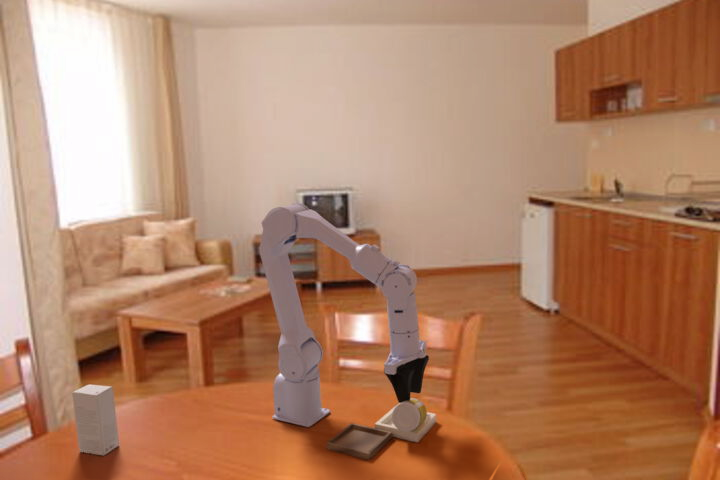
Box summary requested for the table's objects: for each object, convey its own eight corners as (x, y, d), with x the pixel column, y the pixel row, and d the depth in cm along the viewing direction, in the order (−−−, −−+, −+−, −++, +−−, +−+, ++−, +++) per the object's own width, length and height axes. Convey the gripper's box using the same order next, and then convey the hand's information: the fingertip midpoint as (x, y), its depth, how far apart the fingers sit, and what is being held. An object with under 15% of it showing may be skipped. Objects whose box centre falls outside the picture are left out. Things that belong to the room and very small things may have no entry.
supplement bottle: (406, 439, 103) (418, 430, 112) (425, 416, 103) (435, 409, 112) (385, 418, 105) (398, 411, 114) (403, 395, 104) (415, 390, 114)
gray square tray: (326, 449, 104) (326, 443, 104) (351, 428, 112) (351, 422, 112) (368, 460, 100) (368, 453, 99) (392, 438, 107) (392, 432, 107)
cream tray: (375, 432, 110) (374, 423, 109) (395, 414, 117) (395, 405, 117) (417, 442, 105) (417, 433, 105) (436, 422, 113) (436, 414, 113)
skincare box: (120, 445, 109) (113, 386, 107) (103, 456, 105) (96, 395, 103) (95, 441, 111) (88, 383, 109) (78, 452, 107) (71, 392, 105)
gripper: (406, 342, 100) (412, 415, 102) (437, 320, 113) (443, 385, 114) (371, 339, 104) (378, 410, 105) (405, 318, 116) (411, 382, 118)
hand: (409, 397), depth 110 cm, fingers open, 5 cm apart
